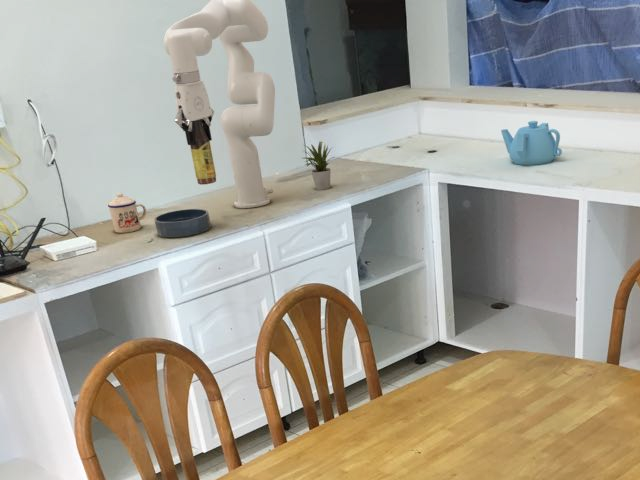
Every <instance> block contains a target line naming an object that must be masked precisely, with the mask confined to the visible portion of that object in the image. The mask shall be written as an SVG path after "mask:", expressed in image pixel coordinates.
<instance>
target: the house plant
mask: <svg viewBox="0 0 640 480" xmlns="http://www.w3.org/2000/svg"><path fill="white" fill-rule="evenodd" d="M323 143H324V142H323V141H321V140H320V141H319V142H318V146H317V149H316V148H315V146H314V145H313V144H311V148H310V147H309V146H308V145H304V144H303V146H305V147H306V148H307V149H308V150H309V151H306V150H304V149H303V152H305V153H306V154H307V155H308V156H305V157H302V159H304V160H305V166H306V167H307V168H308V167H309V166H310V165H311V166H312V167H313V168H314V169H312V170H311V171H310V172H311V176H312V179H313V183H314V186H315V190H316V191H317V190H320V191H322V190H323V191H324V190H327V189H328V190H329V189H330V188H331V171H332V170H331V168H328V167H327V166H328V165H330V162H329V161H330V160H331V159H332V158H335V156H332V157H330V158H329V159H328V160H327V157H328V155H329V153H330V152H331V150H332V148H333V147H331V148H330V149H329V148H328V146H329V144H327V145H326V144H324V146H323ZM322 147H323V150H322ZM328 149H329V150H328Z"/></svg>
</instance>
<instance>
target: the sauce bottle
mask: <svg viewBox="0 0 640 480" xmlns="http://www.w3.org/2000/svg"><path fill="white" fill-rule="evenodd" d="M192 131H193V132H194V136H195V141H196V145H189V146H190V152H191V153H190V155H191V158H192V163H193V169H194V173H195V178H196V180H197V181H196V182H197V184H198V185H209V184H215V183H216V182H217V174H216V167H215V163H214V158H213V157H214V156H213V152H212V145H211V141H209V139H208V137H207V135H206V133H205V132H204V130H203V126H202V119H199V120H195V121H192Z"/></svg>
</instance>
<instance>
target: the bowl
mask: <svg viewBox="0 0 640 480" xmlns="http://www.w3.org/2000/svg"><path fill="white" fill-rule="evenodd" d="M153 222H154V225H155V229H156V234H157V236H158V237H162V238H182V237H190V236H194V235H198V234H201V233H204V232H206V231H208V230H210V229H211V227H212V224H211V220H210V213H209V211H208V210H207V209H203V208H186V209H179V210H173V211H168V212H165V213H161V214H159V215H157V216H155V217H154V219H153Z"/></svg>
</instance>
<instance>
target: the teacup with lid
mask: <svg viewBox="0 0 640 480" xmlns="http://www.w3.org/2000/svg"><path fill="white" fill-rule="evenodd" d="M107 207H108V209H109V213H110V218H111V220H112V221H111V222H112V225H113V229H114V231H115V232H116V233H119V234H127V233H132V232H136V231H138V230H140V229H141V228H142V225H141V220H144V218H145V217H146V215H147V208H146V206H145V205H144V204H142V203H137V201H136V200H135V199H134V198H133V197H128V196H126V195H124V193H122V192H117V193H116V197H114V198H113V199H112V200H110V201H109V202H108V203H107ZM137 207H141V208H142V209H143V213H142V215H141V216H139V213H138V208H137Z"/></svg>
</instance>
